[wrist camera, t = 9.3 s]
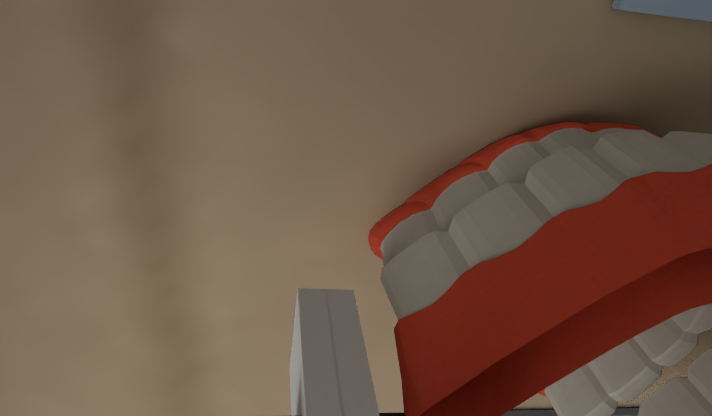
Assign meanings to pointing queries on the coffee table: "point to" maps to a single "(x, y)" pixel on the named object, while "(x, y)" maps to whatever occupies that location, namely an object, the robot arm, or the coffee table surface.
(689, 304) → the toy
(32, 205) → the coffee table surface
